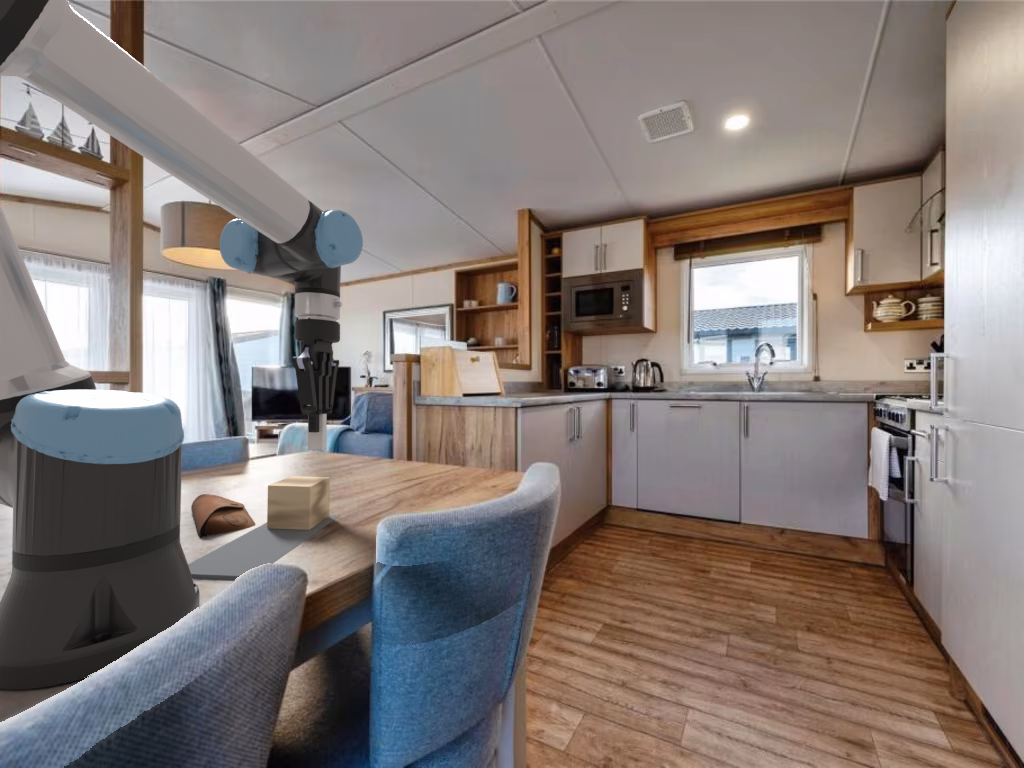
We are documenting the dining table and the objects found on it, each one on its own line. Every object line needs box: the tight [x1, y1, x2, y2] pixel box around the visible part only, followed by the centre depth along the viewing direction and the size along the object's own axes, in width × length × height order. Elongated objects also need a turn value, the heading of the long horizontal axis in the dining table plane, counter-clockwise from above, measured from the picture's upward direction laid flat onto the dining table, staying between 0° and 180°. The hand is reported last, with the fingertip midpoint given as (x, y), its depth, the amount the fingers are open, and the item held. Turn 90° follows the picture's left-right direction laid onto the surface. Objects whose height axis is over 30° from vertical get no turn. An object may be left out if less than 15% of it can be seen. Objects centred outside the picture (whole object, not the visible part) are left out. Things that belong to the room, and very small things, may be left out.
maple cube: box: [266, 475, 331, 530], centre depth 73 cm, size 7×7×7 cm
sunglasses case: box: [190, 493, 256, 538], centre depth 75 cm, size 18×7×7 cm, turn 40°
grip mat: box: [188, 514, 340, 582], centre depth 66 cm, size 24×10×1 cm, turn 178°
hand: (317, 449), depth 79 cm, fingers closed
